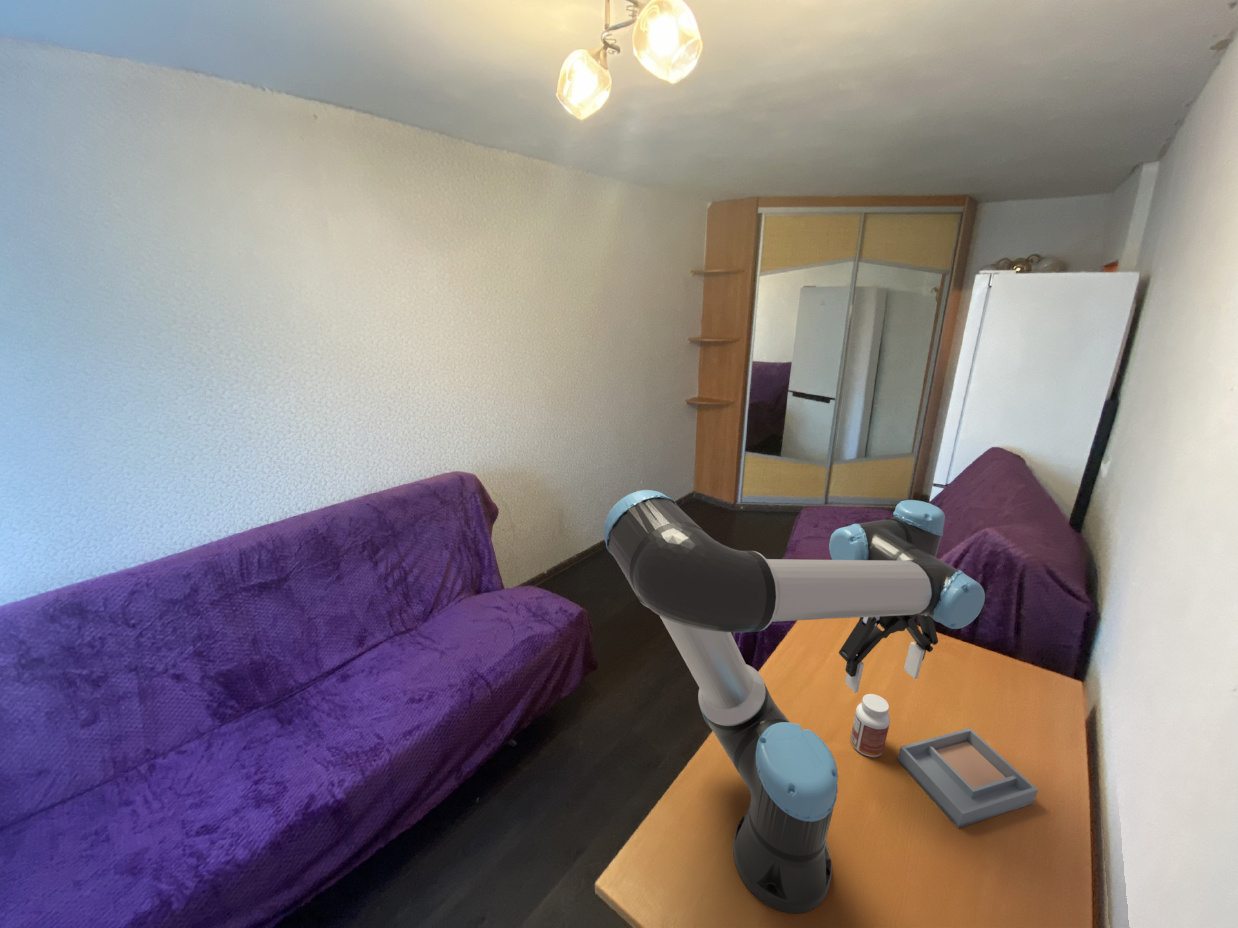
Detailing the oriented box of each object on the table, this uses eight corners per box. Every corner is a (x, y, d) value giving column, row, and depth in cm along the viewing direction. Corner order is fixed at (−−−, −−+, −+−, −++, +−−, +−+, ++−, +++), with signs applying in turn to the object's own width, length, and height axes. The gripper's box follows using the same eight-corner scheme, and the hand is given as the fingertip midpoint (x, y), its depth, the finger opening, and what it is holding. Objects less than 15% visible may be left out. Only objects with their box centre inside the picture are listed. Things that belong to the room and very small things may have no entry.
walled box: (957, 828, 91) (962, 814, 89) (897, 759, 103) (900, 746, 102) (1032, 803, 95) (1038, 789, 94) (965, 740, 108) (969, 727, 106)
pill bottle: (889, 749, 105) (900, 706, 102) (871, 763, 102) (881, 720, 98) (861, 728, 110) (870, 686, 106) (843, 741, 107) (852, 698, 103)
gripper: (858, 608, 87) (838, 708, 94) (977, 586, 93) (950, 681, 100) (829, 583, 93) (813, 678, 101) (942, 565, 100) (919, 655, 107)
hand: (881, 680), depth 101 cm, fingers open, 13 cm apart
